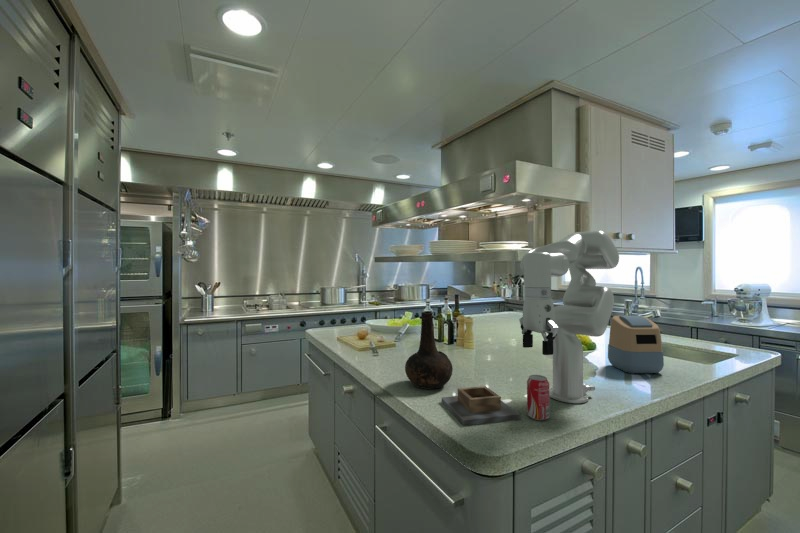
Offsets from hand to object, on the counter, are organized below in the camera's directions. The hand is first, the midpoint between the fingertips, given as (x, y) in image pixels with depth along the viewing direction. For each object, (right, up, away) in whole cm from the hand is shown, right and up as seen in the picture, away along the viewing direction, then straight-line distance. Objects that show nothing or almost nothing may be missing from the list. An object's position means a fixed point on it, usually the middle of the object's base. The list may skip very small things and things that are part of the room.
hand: (537, 350), depth 104 cm
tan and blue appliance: (+62, -20, +49) cm, 81 cm away
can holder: (-16, -20, +6) cm, 26 cm away
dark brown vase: (-30, -20, +29) cm, 46 cm away
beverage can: (0, -20, 0) cm, 20 cm away
